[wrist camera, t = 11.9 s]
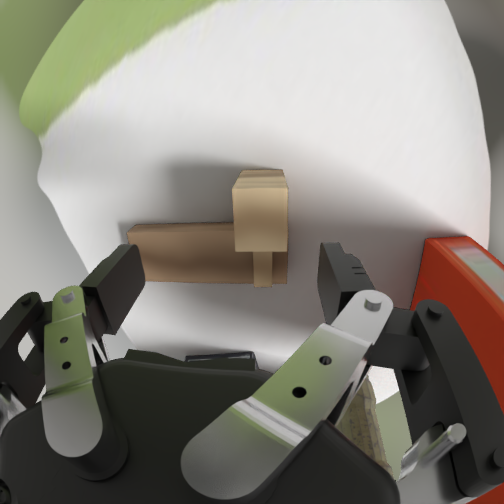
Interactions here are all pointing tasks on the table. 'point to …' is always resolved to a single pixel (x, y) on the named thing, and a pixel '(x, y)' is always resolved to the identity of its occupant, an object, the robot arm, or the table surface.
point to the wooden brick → (260, 218)
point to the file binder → (469, 307)
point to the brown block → (198, 254)
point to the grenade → (365, 425)
